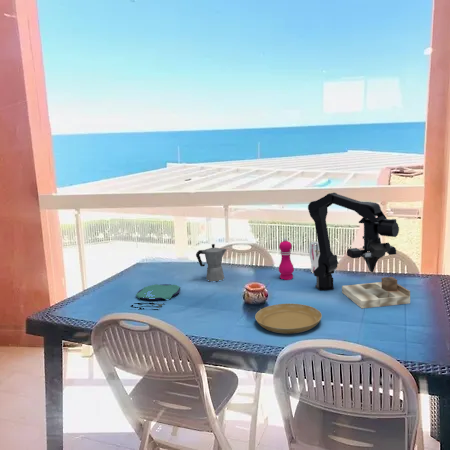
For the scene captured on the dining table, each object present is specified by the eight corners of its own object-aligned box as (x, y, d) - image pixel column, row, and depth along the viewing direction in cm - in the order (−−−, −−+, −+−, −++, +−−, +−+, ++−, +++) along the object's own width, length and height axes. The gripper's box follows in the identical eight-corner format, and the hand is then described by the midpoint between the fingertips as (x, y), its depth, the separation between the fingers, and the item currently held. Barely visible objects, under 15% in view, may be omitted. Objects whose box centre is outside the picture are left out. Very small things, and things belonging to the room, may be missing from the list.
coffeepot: (226, 275, 233) (224, 240, 230) (230, 280, 224) (228, 244, 221) (196, 278, 230) (193, 244, 227) (199, 284, 221) (196, 247, 218)
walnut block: (386, 291, 186) (386, 280, 185) (381, 288, 191) (381, 277, 190) (397, 290, 187) (397, 279, 186) (391, 287, 191) (391, 276, 190)
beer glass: (325, 270, 231) (324, 241, 228) (322, 274, 225) (321, 244, 222) (311, 269, 234) (311, 241, 231) (308, 273, 228) (307, 244, 225)
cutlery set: (186, 288, 216) (186, 283, 216) (163, 312, 188) (162, 307, 187) (147, 287, 221) (147, 283, 221) (119, 311, 193) (118, 306, 192)
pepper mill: (284, 281, 218) (283, 240, 214) (276, 277, 224) (274, 237, 220) (297, 278, 221) (295, 238, 217) (288, 275, 227) (287, 235, 224)
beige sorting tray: (361, 308, 177) (361, 296, 177) (342, 292, 197) (341, 281, 196) (410, 303, 180) (410, 291, 179) (385, 288, 199) (385, 277, 199)
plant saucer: (276, 342, 152) (275, 333, 152) (244, 319, 174) (244, 311, 174) (335, 327, 162) (335, 318, 161) (298, 307, 183) (298, 299, 183)
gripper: (357, 240, 175) (357, 279, 177) (403, 236, 177) (403, 275, 179) (346, 235, 185) (346, 272, 188) (389, 231, 188) (389, 268, 190)
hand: (371, 272), depth 186 cm, fingers closed
